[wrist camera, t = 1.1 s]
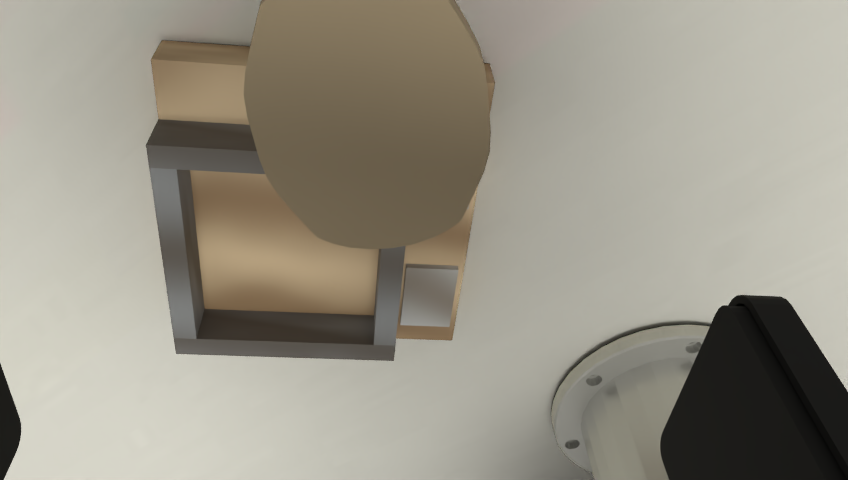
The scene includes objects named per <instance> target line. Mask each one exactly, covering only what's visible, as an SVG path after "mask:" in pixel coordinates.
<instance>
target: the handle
mask: <svg viewBox="0 0 848 480" xmlns="http://www.w3.org/2000/svg"><path fill="white" fill-rule="evenodd" d="M244 100H245V106H246V112H247V118H248V121H249V125H250V128H251V132H252V135H253V139H254V142H255V146H256V149H257V153H258V156H259V160H260V162H261V165H262V167H263V170H264V172H265V174H266V177H267V179H268V181H269V182H270V184H271V185H272V187H273V188H274V189H275V191H276V192H277V194H278V195H279V197H280V198H281V199H282V200H283V201H284V202H285V203H286V204H287V206H288V207H289V208H290V209H291V210H292V211H293V212H294V213H295V215H296V216H297V217H298V218H299V219H300V220H301V221H302V222H303V223H304V224H305V225H306V226H307V227H308V228H309V230H310V231H311V232H312V233H313V234H314V235H315V236H316V237H317V238H319V239H322V240H324V241H327V242H330V243H333V244H336V245H340V246H344V247H349V248H359V249H385V248H396V247H401V246H407V245H412V244H416V243H419V242H422V241H425V240H428V239H431V238H434V237H436V236H438V235H440V234H441V233H443V232H445V231H447V230H449V229H450V228H452V227H453V226H454V225H456V224H457V223H459V222H460V221H461V220H462V218H463V216H464V214H465V212H466V210H467V208H468V205H469V203H470V201H471V199H472V197H473V195H474V193H475V190H476V188H477V186H478V184H479V181H480V179H481V177H482V175H483V172H484V169H485V166H486V162H487V159H488V156H489V152H490V133H491V131H490V116H489V100H488V86H487V80H486V71H485V67H484V62H483V58H482V54H481V50H480V47H479V44H478V42H477V40H476V38H475V36H474V34H473V32H472V30H471V28H470V26H469V24H468V22H467V20H466V19H465V17H464V15H463V13H462V12H461V10H460V8H459V6H458V5H457V3H456V1H455V0H262V1H261V4H260V7H259V11H258V15H257V19H256V24H255V28H254V32H253V36H252V41H251V45H250V50H249V55H248V60H247V65H246V70H245V81H244Z"/></svg>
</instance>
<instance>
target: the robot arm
mask: <svg viewBox="0 0 848 480" xmlns="http://www.w3.org/2000/svg"><path fill="white" fill-rule="evenodd" d="M551 417H552V425H553V430H554V433H555V437H556V440H557V444H558V445H559V447H560V449H561V450H562V452H563V453H564V455H565V456H566V457H568V458H569V459H570V460H571V461H572V462H573V463H574V464H576V465H577V466H579V467H581V468H583V469H584V470H586V471H588V472H591V473H593V476H594V480H848V392H847V390H846V388H845V387H844V385H843V384H842V382H841V381H840V379H839V378H838V376H837V375H836V373H835V372H834V370H833V368H832V367H831V365H830V364H829V362H828V361H827V359H826V358H825V356H824V355H823V353H822V352H821V350H820V348H819V347H818V345H817V344H816V342H815V341H814V339H813V338H812V336H811V335H810V333H809V331H808V330H807V328H806V327H805V325H804V324H803V322H802V321H801V319H800V318H799V316H798V315H797V313H796V311H795V310H794V308H793V307H792V305H791V304H790V303H789V302H788V301H787V300H786V299H784V298H782V297H775V296H750V295H739V296H736V297H735V298H733V299H732V300H731V302H730V303H729V305H728V306H722V307H720V308H719V309H718V311H717V312H716V314H715V317H714V319H713V321H712V323H711V326H700V325H674V326H663V327H658V328H653V329H648V330H643V331H640V332H637V333H634V334H631V335H628V336H625V337H622V338H620V339H618V340H616V341H614V342H612V343H609V344H607V345H605V346H603V347H601V348H600V349H598V350H597V351H596V352H594V353H593V354H591V355H590V356H588V357H587V358H585V359H584V360H583V361H582V362H581V363H579V364H578V365H577V366H576V367H575V368H574V369H573V370H572V371H571V372H570V373H569V374H568V376H567V377H566V378H565V380H564V381H563V383H562V384H561V385H560V387H559V389H558V391H557V393H556V396H555V398H554V400H553V406H552V412H551ZM20 436H21V423H20V418H19V415H18V413H17V410H16V407H15V404H14V401H13V398H12V395H11V393H10V390H9V387H8V384H7V381H6V378H5V376H4V373H3V370H2V367H1V364H0V480H4V478H5V475H6V473H7V471H8V469H9V467H10V464H11V462H12V460H13V458H14V456H15V453H16V451H17V448H18V446H19V442H20Z"/></svg>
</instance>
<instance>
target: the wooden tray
mask: <svg viewBox="0 0 848 480" xmlns="http://www.w3.org/2000/svg"><path fill="white" fill-rule="evenodd" d="M249 50H250V47H249V46H235V45H221V44H207V43H193V42H179V41H165V40H162V41H161V43H160V45H159V46H158V48H157V50H156V51H155V53H154V55H153V57H152V58H151V64H152V72H153V79H154V87H155V95H156V103H157V110H158V118H159V119H158V122H157V124H156V126H155V128H154V130H153V132H152V134H151V136H150V138H149V140H148V142H147V144H146V148H147V155H148V161H149V168H150V175H151V182H152V189H153V196H154V203H155V210H156V217H157V224H158V231H159V238H160V245H161V252H162V259H163V266H164V273H165V280H166V287H167V294H168V301H169V308H170V315H171V322H172V329H173V336H174V343H175V350H176V354H199V355H230V356H261V357H293V358H324V359H355V360H387V361H394V353H395V343H396V338H399V339H427V340H452V338H453V332H454V326H455V320H456V314H457V308H458V302H459V296H460V290H461V284H462V278H463V272H464V266H465V260H466V254H467V248H468V242H469V236H470V230H471V224H472V218H473V212H474V206H475V200H476V194H477V188H478V186H477V188H476V190H475V193H474V195H473V197H472V199H471V201H470V203H469V205H468V208H467V210H466V212H465V214H464V216H463V218H462V220H461V221H460V222H459V223H457V224H456V225H454V226H453V227H452V228H450V229H449V230H447V231H445V232H443V233H441V234H440V235H438V236H436V237H434V238H431V239H428V240H425V241H422V242H419V243H416V244H412V245H407V246H401V247H396V248H385V249H359V248H349V247H344V246H340V245H336V244H333V243H330V242H327V241H324V240H322V239H319V238H317V237H316V236H315V235H314V234H313V233H312V232H311V231H310V230H309V228H308V227H307V226H306V225H305V224H304V223H303V222H302V221H301V220H300V219H299V218H298V217H297V216H296V215H295V213H294V212H293V211H292V210H291V209H290V208H289V207H288V206H287V204H286V203H285V202H284V201H283V200H282V199H281V198H280V197H279V195H278V194H277V192H276V191H275V189H274V188H273V187H272V185H271V184H270V182H269V181H268V179H267V177H266V174H265V172H264V170H263V167H262V165H261V162H260V160H259V156H258V153H257V149H256V146H255V142H254V139H253V135H252V132H251V128H250V125H249V121H248V118H247V112H246V106H245V100H244V81H245V70H246V65H247V60H248V55H249ZM484 67H485V71H486V80H487V86H488V100H489V116H490V110H491V104H492V98H493V92H494V86H495V82H494V78H493V75H492V71H491V67H490V64H486V63H484Z"/></svg>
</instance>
